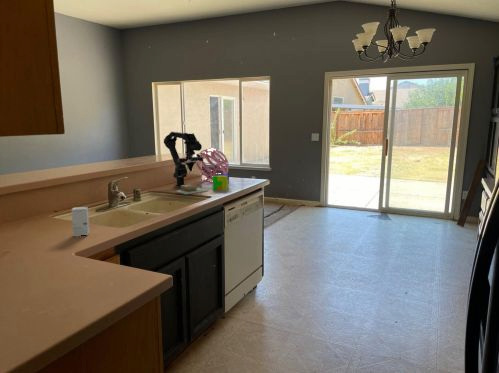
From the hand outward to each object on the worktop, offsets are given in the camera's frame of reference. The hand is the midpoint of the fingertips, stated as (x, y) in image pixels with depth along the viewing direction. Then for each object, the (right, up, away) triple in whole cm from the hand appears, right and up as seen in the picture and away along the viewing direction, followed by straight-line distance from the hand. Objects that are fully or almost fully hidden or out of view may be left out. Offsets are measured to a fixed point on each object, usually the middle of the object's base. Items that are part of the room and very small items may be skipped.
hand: (190, 171), depth 266 cm
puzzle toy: (+23, -13, -6) cm, 27 cm away
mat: (+3, -15, -13) cm, 20 cm away
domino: (-3, -12, -8) cm, 14 cm away
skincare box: (-30, -33, -107) cm, 116 cm away
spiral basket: (+14, -7, +26) cm, 30 cm away
